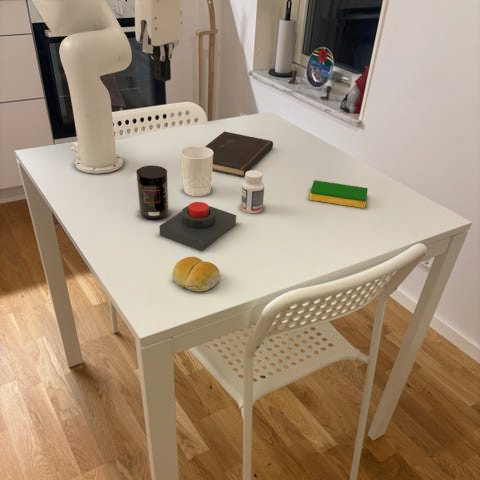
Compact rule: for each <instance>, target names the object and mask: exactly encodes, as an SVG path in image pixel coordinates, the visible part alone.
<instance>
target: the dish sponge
mask: <svg viewBox="0 0 480 480" xmlns="http://www.w3.org/2000/svg"><path fill="white" fill-rule="evenodd" d="M367 198H368V187H365V186H364V187H363V186H357V185H351V184H344V183H343V184H342V183H337V182H336V183H335V182H329V181H323V180H317V179H316V180H315V179H314V180H313V181H312V185H311V188H310V193H309V200H310V201H315V202H321V203H329V204H334V205H342V206H347V207H348V206H349V207H354V208H361V209H365V208H366V204H367Z"/></svg>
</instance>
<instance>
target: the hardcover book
mask: <svg viewBox="0 0 480 480" xmlns="http://www.w3.org/2000/svg"><path fill="white" fill-rule="evenodd" d="M204 147H207V148H209V149H211V150H212V151H213V169H212V172H218V173H222V174H226V175H231V176H235V177H240V178H244V177H245V173H246V172H247V171H250V170H252V169H253V168H254V167H255V166H256V165H257V164H258V163H259V162H260V161H261V160H262V158H264V157H265V155H267V154H268V153H269V152H270V151H271V150H272V149H273V147H274V142H273V141H272V140H270V139H264V138H259V137H255V136H249V135H245V134H240V133H234V132H229V131H222V132H221V133H220V134H219V135H218V136H216V137H215V138H214V139H212V141H210V142H209V143H207V144H206V145H204Z"/></svg>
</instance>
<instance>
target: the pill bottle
mask: <svg viewBox="0 0 480 480" xmlns="http://www.w3.org/2000/svg"><path fill="white" fill-rule="evenodd" d="M244 179H245V180H244V181H243V182H242V184H241V199H240V200H241V201H240V209H241V210H242V211H243V212H245V213H249V214H257V213H260V212H262V211H263V208H264V197H265V183H264V181H263V173H262V171H259V170H256V169H255V170H254V169H250V170H249V171H247V172H246V173H245V175H244Z"/></svg>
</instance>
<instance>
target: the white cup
mask: <svg viewBox="0 0 480 480" xmlns="http://www.w3.org/2000/svg"><path fill="white" fill-rule="evenodd" d="M180 161H181V162H180V163H181V164H180V165H181V175H182V176H181V177H182V183H183V192H184V193H185V194H187V196H188V195H189V196H192V197H203V196H207V195H208V194H210V192H211V189H212V178H213V171H212V169H213V151H212V150H211V149H209V148H207V147H205V146H202V145H190V146H186V147H183V148H182V149H181V150H180Z"/></svg>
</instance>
